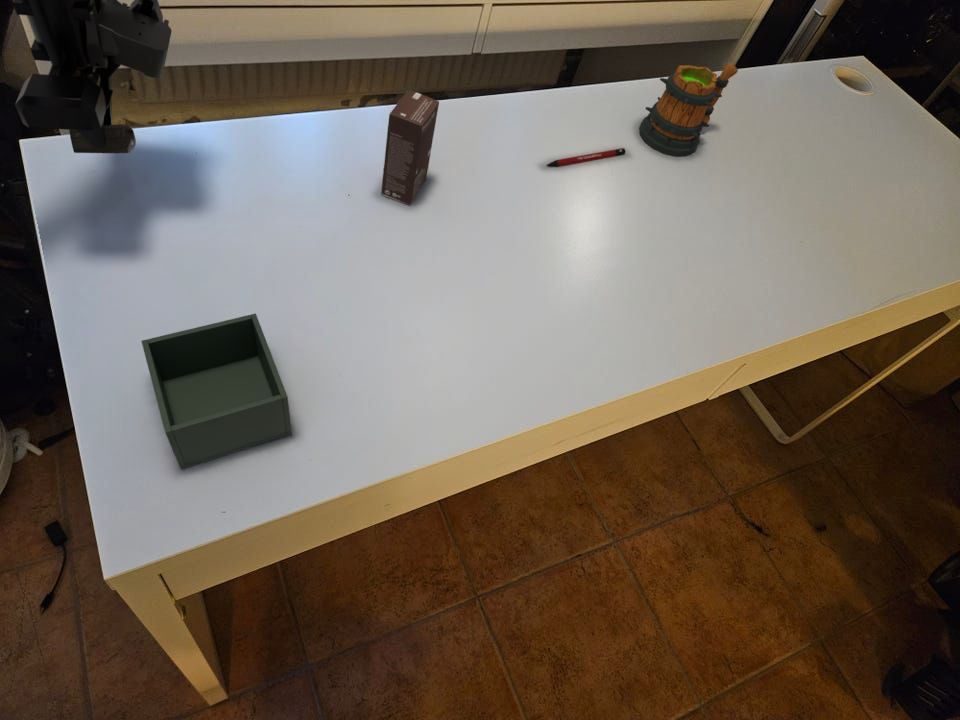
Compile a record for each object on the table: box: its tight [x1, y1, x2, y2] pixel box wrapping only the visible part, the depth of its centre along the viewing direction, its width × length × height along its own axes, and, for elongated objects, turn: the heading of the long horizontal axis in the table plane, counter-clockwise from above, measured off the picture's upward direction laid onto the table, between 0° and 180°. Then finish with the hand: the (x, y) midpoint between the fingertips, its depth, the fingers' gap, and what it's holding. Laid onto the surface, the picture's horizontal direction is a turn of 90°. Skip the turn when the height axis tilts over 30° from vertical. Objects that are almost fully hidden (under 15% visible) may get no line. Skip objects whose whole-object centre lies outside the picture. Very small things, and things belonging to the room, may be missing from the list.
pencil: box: [545, 147, 626, 168], centre depth 96 cm, size 1×14×1 cm, turn 116°
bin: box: [140, 313, 293, 470], centre depth 60 cm, size 10×10×7 cm
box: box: [380, 89, 440, 206], centre depth 81 cm, size 6×4×12 cm
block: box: [68, 123, 137, 154], centre depth 69 cm, size 4×6×2 cm, turn 115°
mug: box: [638, 62, 739, 158], centre depth 100 cm, size 13×10×12 cm
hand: (103, 135), depth 69 cm, fingers closed on block, 3 cm apart
